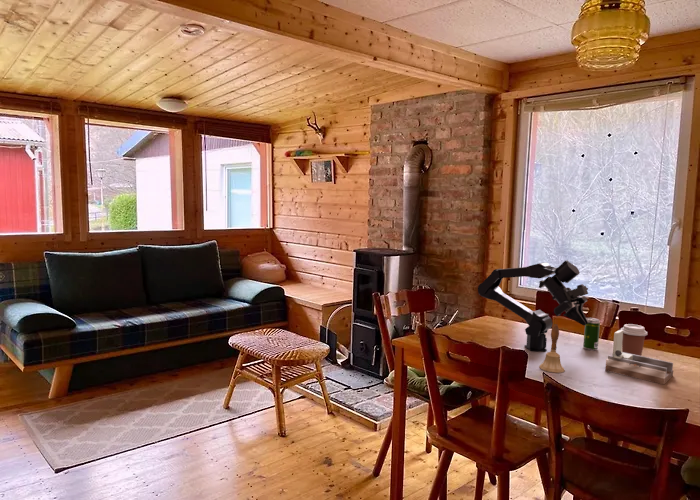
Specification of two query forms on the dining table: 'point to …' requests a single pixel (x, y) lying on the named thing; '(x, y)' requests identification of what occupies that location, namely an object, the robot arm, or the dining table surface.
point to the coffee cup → (633, 339)
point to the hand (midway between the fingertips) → (586, 324)
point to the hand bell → (553, 355)
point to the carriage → (619, 346)
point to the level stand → (641, 368)
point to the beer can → (591, 334)
